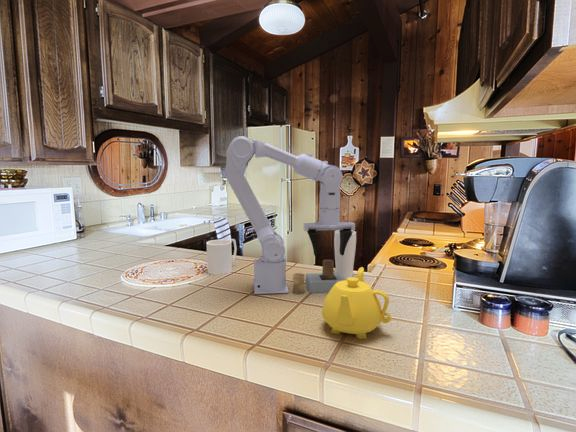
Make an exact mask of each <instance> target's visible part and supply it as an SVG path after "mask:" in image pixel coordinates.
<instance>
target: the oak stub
mask: <svg viewBox="0 0 576 432" xmlns="http://www.w3.org/2000/svg"><path fill="white" fill-rule="evenodd" d="M292 293H293V294H295V295H302V294H304V293H305V274H304V273H301V272H297V273H294V274H292Z"/></svg>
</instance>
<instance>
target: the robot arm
mask: <svg viewBox="0 0 576 432" xmlns="http://www.w3.org/2000/svg"><path fill="white" fill-rule="evenodd" d="M312 156H313V154H311V153H310V152H308V153H307V154H306V153H300V154H299V155H295V154H293V153H291V152H289V151H286V150H284V149H281V148H279V147H277V146H275V145H272V144H270V143H267V142H265V141H261V140H258V139H253V138H251V139H250V138H248V137H247V136H243V135H242V136H241V135H239V136H236V137H234V138H233V139H232V140H231V142H230V144H229V145H228V148H227V149H226V163H225V177H226V180H227V182H228V184H229V185H230V187H231V189H232V191H233V193H234V195H235V197H236V198H237V201H238V202H239V205H240V206H241V208H242V209H243V211H244V214H245V215H246V217H247V219H248V221H249V222H250V224H251V226H252V228H253V229H254V232H255V233H256V237H257V239H258V242H259V244H260V246H261V254H262V255H261V256H260V258H258V259H253V279H252V285H253V289H254V290H253V291H254V293H253V294H255V295H261V294H262V295H266V294H268V295H269V294H288V293H289V288H288V284H287V267H286V266H287V257H286V256H285V253H286V248H285V245H284V238H283V237H282V236H281V235H280V234H279V233H277V232H276V231H275V229H274V228H273V226H272V225H271V222H270V221H269V219H268V217H267V215H266V213H265V211H264V210H263V208H262V206H261V204H260V203H259V200H258V199H257V196H256V195H255V193H254V191H253V190H252V187H251V186H250V183H249V182H248V180H247V178H246V176H245V174H246V170H247V168H248V164H249V162H251V160H252V158H253V157H254V158H256V159H257V158H269V159H272V160H274V161H276V162H280V163H282V164H285V165H287V166H291V167H292V168H293V170H294V172H295V174H297V175H299V176H302V177H304V178H308V179H310V180H313V181H315V182H318V181H319V182H320V188H319V189H320V191H319V214H318V215H319V219H318V220H319V221H318V222H305V223H303V230H304V232H307V235H308V237H309V239H310V242H311V245H312V249H313V255H314V257H318V255H319V253H318V242H319V234H318V231H336V230H340V254H341V255H344V252H345V248H346V245H347V243H348V241H349V239H350V237H351V235H352V231H351V230H353V231H355V230H356V223H355V222H351V221H350V222H348V221H347V222H346V221H345V222H344V221H340V220H341V219H340V218H341V217H340V215H341V213H340V212H341V183H342V182H343V179H344V175H343V173H342V170H341V169H340V168H339V167H338V166H336V165H332V164H328V163H329V162H328V161H327V160H324V161H322V160H320V159H318V158H315V157H314V156H313V157H312Z"/></svg>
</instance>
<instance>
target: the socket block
mask: <svg viewBox="0 0 576 432" xmlns="http://www.w3.org/2000/svg"><path fill="white" fill-rule="evenodd" d="M322 276H323V272H319V273H318V272H317V273H305V285H306V287H307V290H308V292H309V294H314V293H315V294H317V293H329V291H330V290H331V289H332V287H333V286H334V285H335V284H336V283H337V282H339V281H343V279H342V277H341V276H340V275H339V273H336V272H334V276H333V280H322Z"/></svg>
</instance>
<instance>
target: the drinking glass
mask: <svg viewBox="0 0 576 432" xmlns="http://www.w3.org/2000/svg"><path fill="white" fill-rule="evenodd" d="M351 231H352V235H351V237H350V239H349V241H348V243H347V245H346V248H345V252H344V255H341V254H340V230H334V238H333V239H334V240H333V241H334V242H333V243H334V245H333V247H334V248H333V249H334V260H335V261H334V263H335V264H334V265H335V273H339V275H340V276H341V277H342V279H343V280H347V278H349V277H354V276H353V275H354V265H355V264H354V263H355V256H356V247H357V246H356V245H357V231H355V230H351Z"/></svg>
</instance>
